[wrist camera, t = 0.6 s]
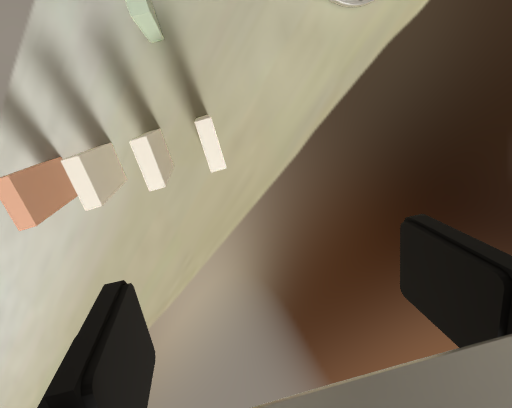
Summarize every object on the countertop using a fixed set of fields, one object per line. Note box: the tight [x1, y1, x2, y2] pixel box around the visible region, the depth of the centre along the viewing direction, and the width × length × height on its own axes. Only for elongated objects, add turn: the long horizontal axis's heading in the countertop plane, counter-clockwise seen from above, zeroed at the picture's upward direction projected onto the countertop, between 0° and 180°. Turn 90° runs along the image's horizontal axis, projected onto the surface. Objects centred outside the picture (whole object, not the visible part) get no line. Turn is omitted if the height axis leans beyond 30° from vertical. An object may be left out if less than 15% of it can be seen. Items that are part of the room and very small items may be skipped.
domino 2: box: [61, 143, 127, 211], centre depth 33 cm, size 2×5×11 cm, turn 15°
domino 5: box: [195, 115, 227, 173], centre depth 34 cm, size 2×5×11 cm, turn 15°
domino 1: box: [0, 157, 78, 231], centre depth 33 cm, size 2×5×11 cm, turn 15°
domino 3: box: [125, 0, 164, 43], centre depth 29 cm, size 2×5×11 cm, turn 15°
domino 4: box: [129, 128, 174, 191], centre depth 34 cm, size 2×5×11 cm, turn 15°
